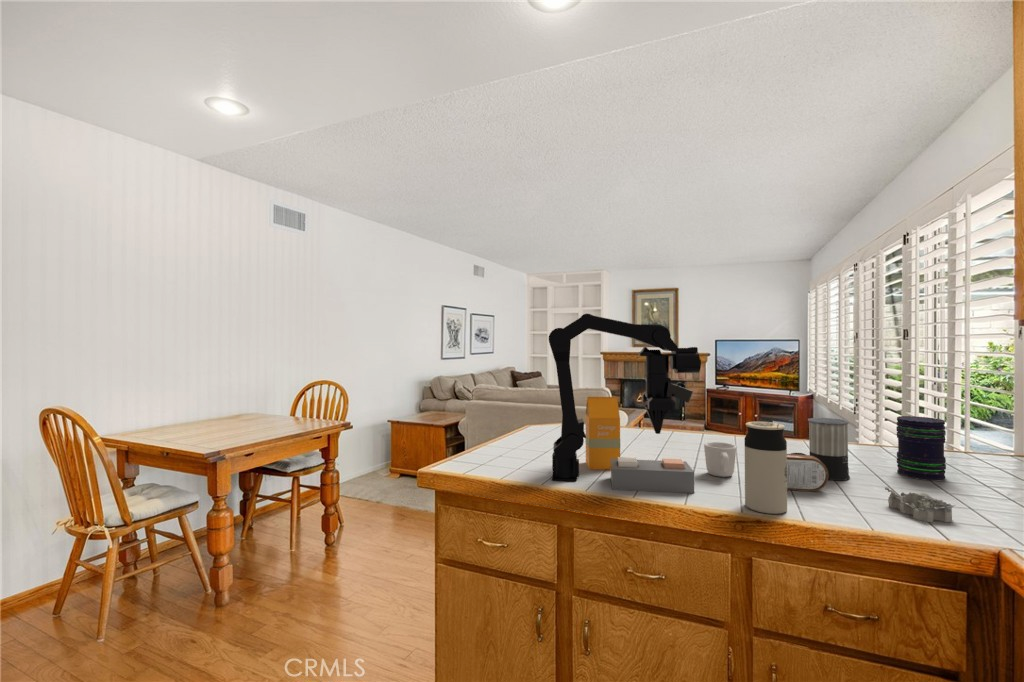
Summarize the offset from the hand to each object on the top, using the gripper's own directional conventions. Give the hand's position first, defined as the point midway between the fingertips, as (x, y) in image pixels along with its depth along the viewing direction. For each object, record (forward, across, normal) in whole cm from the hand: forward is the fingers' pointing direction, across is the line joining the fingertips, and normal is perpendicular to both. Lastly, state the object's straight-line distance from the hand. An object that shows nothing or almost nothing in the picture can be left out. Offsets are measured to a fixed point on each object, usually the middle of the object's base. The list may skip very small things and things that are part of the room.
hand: (657, 433), depth 122 cm
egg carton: (+13, -16, -50) cm, 54 cm away
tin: (+12, -3, -31) cm, 33 cm away
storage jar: (+12, +15, -69) cm, 72 cm away
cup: (+12, +6, -17) cm, 22 cm away
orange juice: (+12, +12, +14) cm, 22 cm away
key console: (+12, -5, +2) cm, 13 cm away
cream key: (+10, -5, +8) cm, 14 cm away
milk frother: (+12, +14, -43) cm, 47 cm away
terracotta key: (+10, -5, -3) cm, 11 cm away
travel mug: (+12, -18, -20) cm, 29 cm away
